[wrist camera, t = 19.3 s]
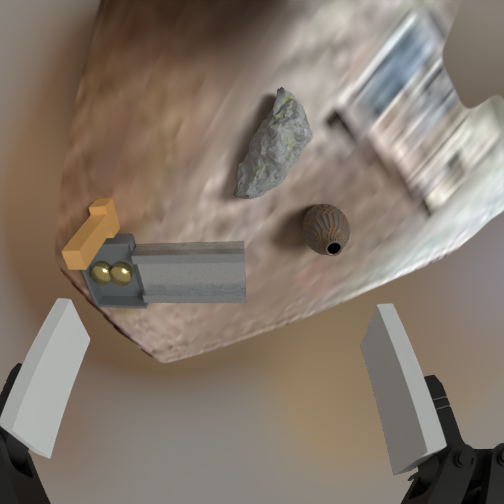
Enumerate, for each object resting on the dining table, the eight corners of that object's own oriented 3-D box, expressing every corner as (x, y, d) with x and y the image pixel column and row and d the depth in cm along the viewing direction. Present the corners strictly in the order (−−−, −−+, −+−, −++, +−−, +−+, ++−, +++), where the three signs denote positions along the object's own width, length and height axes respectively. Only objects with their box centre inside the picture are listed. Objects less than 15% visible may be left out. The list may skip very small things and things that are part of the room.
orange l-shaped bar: (96, 199, 44) (58, 242, 34) (112, 197, 44) (76, 241, 34) (104, 229, 48) (71, 277, 37) (119, 228, 48) (89, 277, 37)
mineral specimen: (273, 202, 46) (276, 223, 40) (229, 183, 44) (225, 202, 38) (324, 110, 38) (337, 118, 32) (277, 86, 36) (282, 89, 31)
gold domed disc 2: (110, 261, 51) (106, 268, 49) (129, 260, 51) (126, 267, 49) (117, 279, 53) (113, 286, 51) (136, 278, 53) (133, 285, 51)
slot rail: (137, 244, 49) (130, 256, 46) (244, 241, 49) (244, 253, 46) (149, 289, 55) (144, 302, 52) (245, 288, 55) (245, 302, 52)
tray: (79, 236, 48) (72, 245, 46) (132, 233, 48) (127, 243, 46) (101, 296, 56) (96, 306, 53) (149, 297, 56) (146, 308, 53)
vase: (327, 189, 44) (343, 216, 37) (349, 220, 47) (366, 251, 40) (290, 214, 47) (298, 246, 40) (314, 244, 50) (325, 277, 43)
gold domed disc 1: (91, 260, 51) (87, 267, 49) (110, 260, 51) (106, 267, 49) (97, 277, 53) (93, 284, 51) (115, 278, 53) (112, 285, 51)
